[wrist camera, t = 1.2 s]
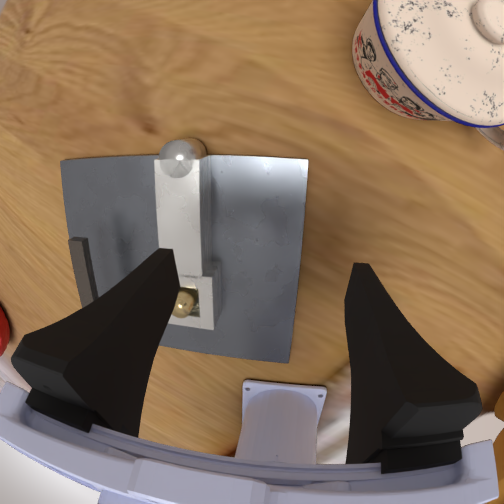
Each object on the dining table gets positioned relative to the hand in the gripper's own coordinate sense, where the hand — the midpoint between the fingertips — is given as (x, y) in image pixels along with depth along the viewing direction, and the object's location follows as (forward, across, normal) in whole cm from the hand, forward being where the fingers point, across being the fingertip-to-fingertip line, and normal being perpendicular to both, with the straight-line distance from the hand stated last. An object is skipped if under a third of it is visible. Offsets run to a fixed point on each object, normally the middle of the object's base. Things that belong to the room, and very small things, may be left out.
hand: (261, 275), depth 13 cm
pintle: (+9, +6, +9) cm, 14 cm away
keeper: (+9, +14, +9) cm, 19 cm away
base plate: (+9, +8, +8) cm, 14 cm away
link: (+9, +6, +4) cm, 12 cm away
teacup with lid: (+13, -10, -7) cm, 18 cm away
